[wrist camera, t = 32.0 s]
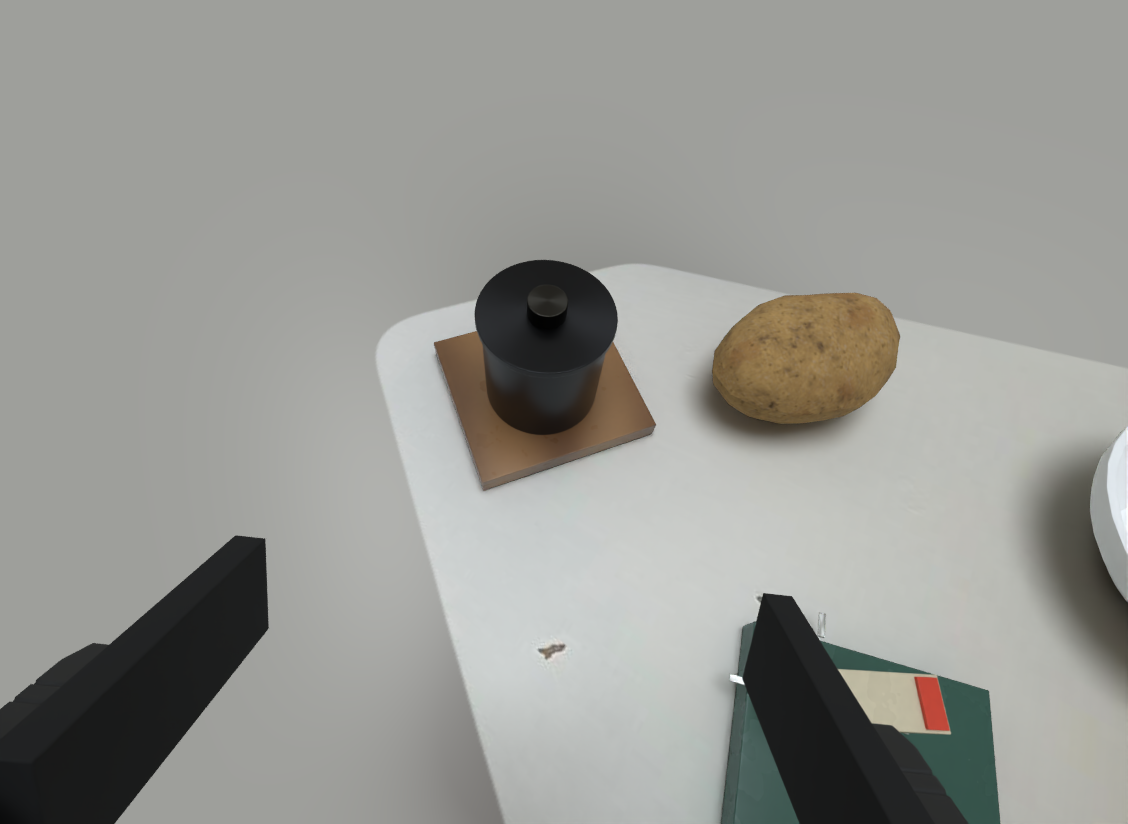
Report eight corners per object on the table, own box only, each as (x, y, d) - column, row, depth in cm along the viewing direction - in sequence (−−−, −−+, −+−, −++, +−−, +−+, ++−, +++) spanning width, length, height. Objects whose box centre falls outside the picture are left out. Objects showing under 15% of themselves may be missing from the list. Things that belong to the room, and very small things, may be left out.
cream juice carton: (768, 726, 31) (826, 727, 26) (762, 676, 33) (817, 666, 27) (873, 732, 32) (955, 735, 26) (864, 682, 33) (940, 674, 27)
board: (483, 490, 39) (482, 482, 38) (436, 353, 44) (433, 342, 43) (651, 433, 42) (656, 424, 41) (589, 311, 47) (591, 300, 46)
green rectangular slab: (677, 998, 27) (689, 1019, 25) (728, 595, 37) (740, 589, 35) (994, 1107, 26) (1031, 1137, 24) (964, 664, 36) (988, 661, 34)
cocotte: (499, 452, 39) (494, 377, 30) (470, 351, 42) (458, 259, 34) (616, 422, 41) (642, 343, 32) (578, 328, 44) (592, 235, 36)
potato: (670, 360, 45) (698, 294, 38) (818, 321, 48) (869, 253, 41) (725, 468, 41) (768, 416, 34) (884, 417, 44) (953, 360, 37)
